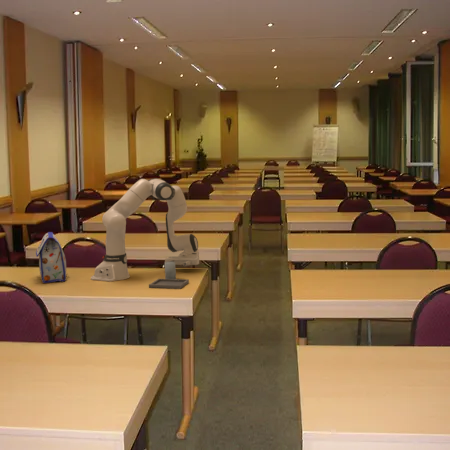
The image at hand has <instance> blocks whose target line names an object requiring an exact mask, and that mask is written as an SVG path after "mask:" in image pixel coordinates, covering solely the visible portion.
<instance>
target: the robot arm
mask: <svg viewBox="0 0 450 450" xmlns="http://www.w3.org/2000/svg"><path fill="white" fill-rule="evenodd" d="M150 196H152V197H153V198H155V199H157V200H159V201H166V202H167V203H166V204H167V207H168V211H167V212H166V214H165V229H166V239H167V241H166V242H167V243H166V245H167V249H168V250H169V251H170V252H172V253H177V252H180V253H179V254H178V255H177V256H168V257H165V259H164V263H165V262H167V261H174V262H175V266H176V265H178V266H179V265H180V266H183V267H188V266H189V267H190V266H197V265H200V251H199V241H198V239H197V237H196V236H195V235H194V234H193V233H187V234H185V233H184V234H180V235H177V234H175V226H174V223H175V221H177V220H179V219H182V217H184V216H185V215H186V213H187V212H188V206H187V201H186V197H185V195H184V192H183V190H182V188H181V187H180V186H179V185H171V184H170V183H168V182H167V181H165V180H164V179H160V178H157V177H155V178H151V179H145V178H140V179H138V180H137V181H136V182H135V183H134V184H132V186H130V187H129V189H128V190H127V191H126V192H125V193H124V194H123V195H122V196H121V198H120V199H119V200H118V201H117V202H115V203H114V204H113V205H112V206H111V207H110V208H109V209H108V210H106V211H105V212H104V213H103V215H102V218H101V220H102V225H103V226H104V227H105V229H106V232H105V233H106V234H105V235H106V236H105V242H104V243H105V253H106V254H104V255H103V256H102V259H103V260H102V262H101V263H99V264H98V265H97V266H96V267H95V269H94V275H92V276H90V280H92V281H102V282H115V281H122V280H126V279H129V278H130V273H129V269H128V264H127V263H128V256H127V253H126V228H127V227H126V225H127V218H129V216H131V215H133V214H134V213H136V211H137V210H138V209H139V208H140V207H141V205H142V204H144V202H145V201H146V199H147V198H149V197H150Z"/></svg>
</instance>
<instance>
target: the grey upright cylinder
mask: <svg viewBox="0 0 450 450" xmlns="http://www.w3.org/2000/svg"><path fill="white" fill-rule="evenodd" d="M176 272H177V270H176V265H175V262H174V261H167V262H165V261H164V276H165V278H164V279H177V273H176Z"/></svg>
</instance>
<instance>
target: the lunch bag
mask: <svg viewBox="0 0 450 450" xmlns="http://www.w3.org/2000/svg"><path fill="white" fill-rule="evenodd" d="M35 255H36V258H39V259H38V266H39V274H40V279H41V282H42V283H43V284H49V283H54V282H65V281H66V280H67V259H66V255H65V253H64V251H63V248H62V246H61V242H60V241H59V239H58V238H57V237H56V235H55V234H54V233H53V231H48V232H47V233H45V234H44V235H43V237H42V239H41V241H40V243H39V245H38V246H37V249H36V251H35Z"/></svg>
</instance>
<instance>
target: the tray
mask: <svg viewBox="0 0 450 450" xmlns="http://www.w3.org/2000/svg"><path fill="white" fill-rule="evenodd" d="M189 283H190V279H184V278H183V279H182V278H181V279H179V278H178V279H177V278H176V279H165V278H157V279H155V280H153V282H151V283H149V284H148V289H167V290H169V289H170V290H171V289H172V290H173V289H174V290H181V289H183V288H184V287H185V286H187V285H188V284H189Z"/></svg>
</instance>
